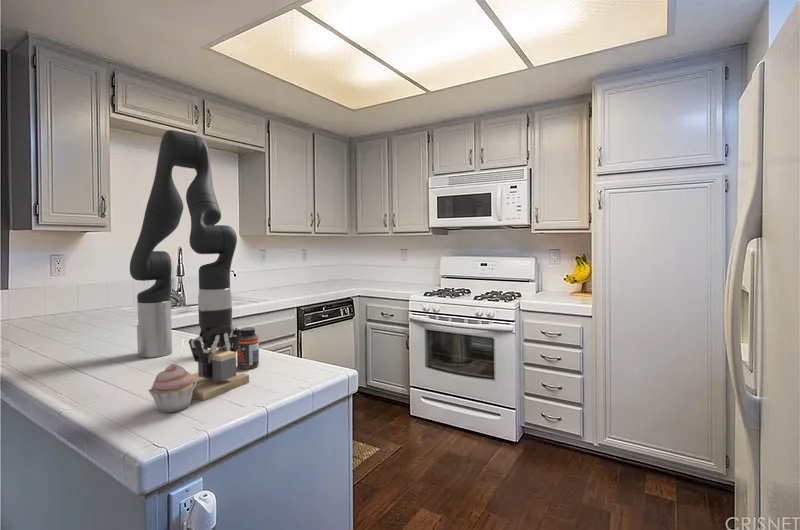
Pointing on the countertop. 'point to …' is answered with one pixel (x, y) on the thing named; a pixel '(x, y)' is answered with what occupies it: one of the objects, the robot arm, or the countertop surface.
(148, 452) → the countertop surface
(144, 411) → the countertop surface
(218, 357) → the block
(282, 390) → the countertop surface
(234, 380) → the slatted wooden trivet
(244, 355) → the supplement bottle
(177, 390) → the cupcake
